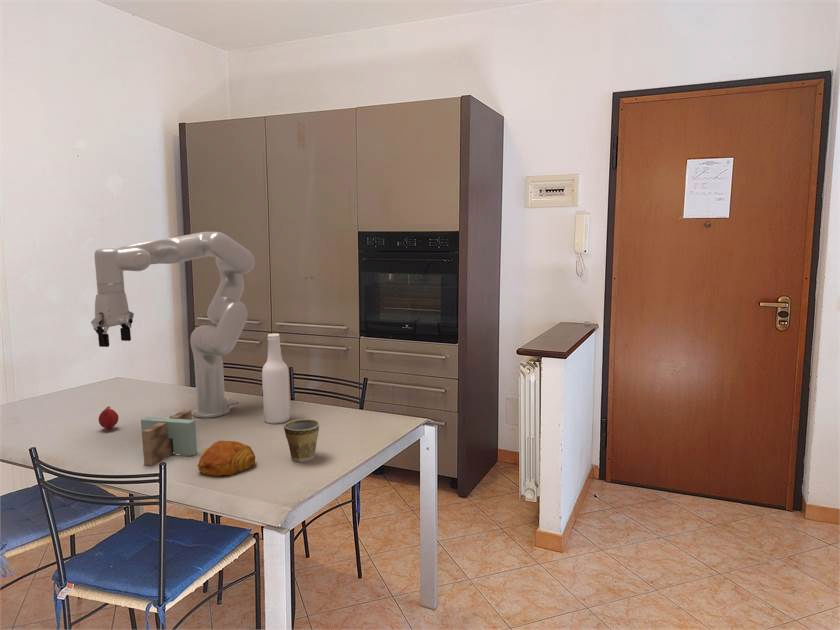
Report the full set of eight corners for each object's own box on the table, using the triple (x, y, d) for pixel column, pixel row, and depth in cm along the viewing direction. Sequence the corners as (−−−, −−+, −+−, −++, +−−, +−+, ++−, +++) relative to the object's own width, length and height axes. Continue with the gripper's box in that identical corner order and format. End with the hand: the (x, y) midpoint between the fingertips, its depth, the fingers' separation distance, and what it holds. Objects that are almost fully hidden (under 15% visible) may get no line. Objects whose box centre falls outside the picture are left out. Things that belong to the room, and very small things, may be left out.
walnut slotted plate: (186, 440, 193) (184, 409, 191) (193, 441, 192) (191, 410, 191) (144, 465, 174) (141, 430, 172) (152, 465, 173) (149, 431, 172)
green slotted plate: (143, 452, 184) (140, 419, 182) (149, 448, 186) (147, 416, 185) (191, 456, 180) (189, 423, 178) (197, 452, 183) (195, 420, 181)
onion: (111, 433, 201) (109, 409, 199) (95, 432, 202) (93, 408, 200) (122, 427, 206) (121, 404, 205) (107, 426, 207) (105, 403, 206)
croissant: (223, 462, 182) (219, 435, 181) (265, 462, 175) (261, 435, 174) (185, 479, 169) (181, 450, 168) (229, 480, 162) (225, 451, 161)
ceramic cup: (322, 462, 175) (321, 428, 173) (286, 466, 172) (285, 431, 171) (316, 446, 187) (315, 414, 186) (283, 450, 184) (281, 417, 183)
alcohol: (263, 417, 215) (259, 333, 211) (288, 415, 218) (285, 331, 213) (265, 425, 207) (261, 337, 203) (291, 422, 210) (288, 335, 205)
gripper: (119, 285, 199) (124, 338, 202) (79, 291, 183) (84, 348, 185) (140, 286, 198) (144, 338, 200) (101, 292, 181) (106, 349, 183)
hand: (115, 343), depth 193 cm, fingers open, 9 cm apart
